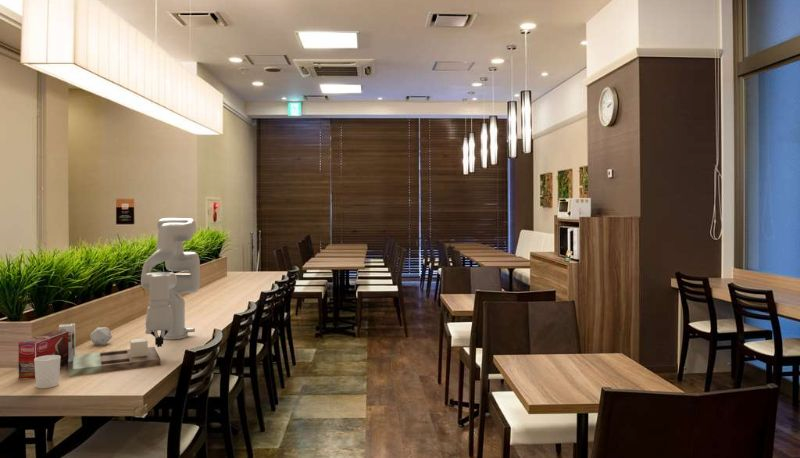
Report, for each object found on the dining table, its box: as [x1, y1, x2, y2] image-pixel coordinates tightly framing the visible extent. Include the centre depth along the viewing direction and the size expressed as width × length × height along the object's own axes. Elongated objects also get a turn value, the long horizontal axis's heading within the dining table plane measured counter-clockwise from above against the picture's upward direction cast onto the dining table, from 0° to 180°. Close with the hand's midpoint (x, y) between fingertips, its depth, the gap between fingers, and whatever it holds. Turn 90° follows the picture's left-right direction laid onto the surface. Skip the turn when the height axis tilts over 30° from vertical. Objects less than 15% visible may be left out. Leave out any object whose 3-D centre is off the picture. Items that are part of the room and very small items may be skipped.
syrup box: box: [58, 323, 76, 355], centre depth 227 cm, size 6×6×14 cm
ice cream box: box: [17, 330, 69, 380], centre depth 210 cm, size 20×6×13 cm, turn 1°
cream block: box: [129, 337, 149, 357], centre depth 226 cm, size 6×6×6 cm
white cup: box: [34, 355, 61, 389], centre depth 192 cm, size 8×8×10 cm
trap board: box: [67, 346, 161, 377], centre depth 221 cm, size 32×23×6 cm
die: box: [89, 326, 113, 346], centre depth 253 cm, size 8×9×10 cm
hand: (159, 346), depth 229 cm, fingers closed
